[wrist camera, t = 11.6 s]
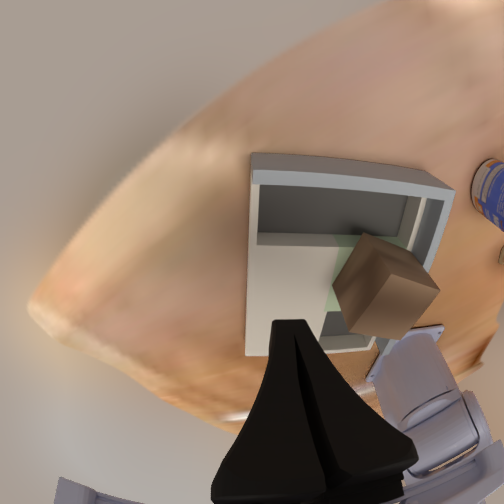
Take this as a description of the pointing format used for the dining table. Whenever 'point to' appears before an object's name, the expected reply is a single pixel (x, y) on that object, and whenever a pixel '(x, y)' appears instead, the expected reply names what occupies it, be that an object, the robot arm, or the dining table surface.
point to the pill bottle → (490, 191)
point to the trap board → (329, 237)
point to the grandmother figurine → (501, 256)
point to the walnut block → (382, 289)
